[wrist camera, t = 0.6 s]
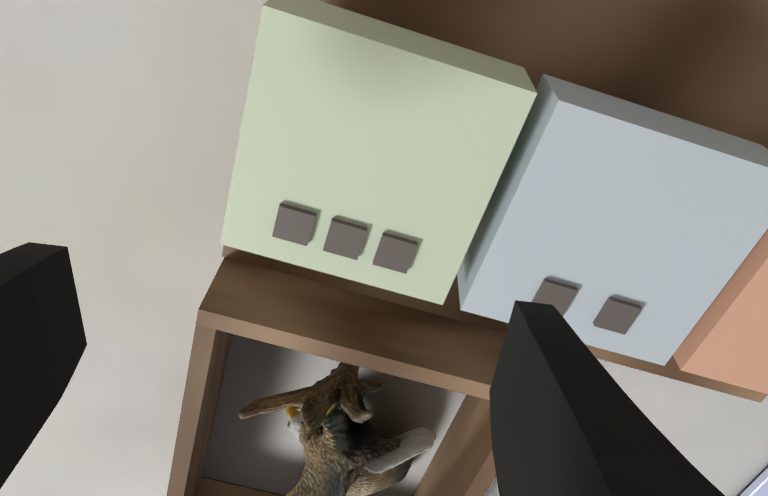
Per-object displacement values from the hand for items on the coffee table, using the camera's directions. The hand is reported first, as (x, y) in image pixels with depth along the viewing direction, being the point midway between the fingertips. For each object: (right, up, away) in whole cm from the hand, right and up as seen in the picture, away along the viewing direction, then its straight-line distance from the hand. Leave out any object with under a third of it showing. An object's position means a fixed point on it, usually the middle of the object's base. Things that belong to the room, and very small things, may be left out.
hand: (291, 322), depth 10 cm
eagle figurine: (0, -6, +16) cm, 17 cm away
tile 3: (+1, +4, +6) cm, 7 cm away
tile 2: (+7, +2, +6) cm, 10 cm away
